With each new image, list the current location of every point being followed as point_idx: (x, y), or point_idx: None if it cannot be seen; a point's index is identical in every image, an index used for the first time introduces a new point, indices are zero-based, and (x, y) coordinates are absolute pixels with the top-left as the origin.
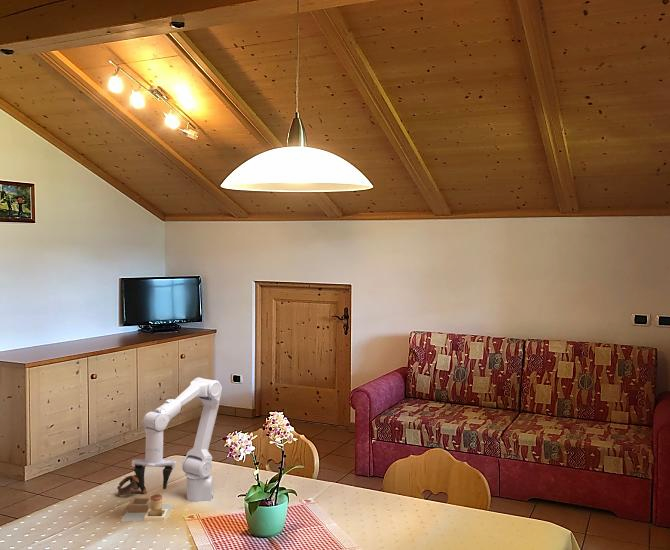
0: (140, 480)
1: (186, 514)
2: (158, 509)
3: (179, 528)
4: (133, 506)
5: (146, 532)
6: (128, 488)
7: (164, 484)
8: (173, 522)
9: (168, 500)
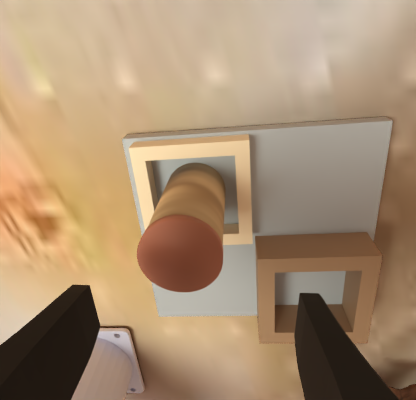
0: (343, 363)
1: (76, 242)
2: (167, 191)
3: (31, 83)
4: (343, 252)
5: (197, 8)
6: None
7: (43, 316)
8: (97, 156)
9: (208, 357)
